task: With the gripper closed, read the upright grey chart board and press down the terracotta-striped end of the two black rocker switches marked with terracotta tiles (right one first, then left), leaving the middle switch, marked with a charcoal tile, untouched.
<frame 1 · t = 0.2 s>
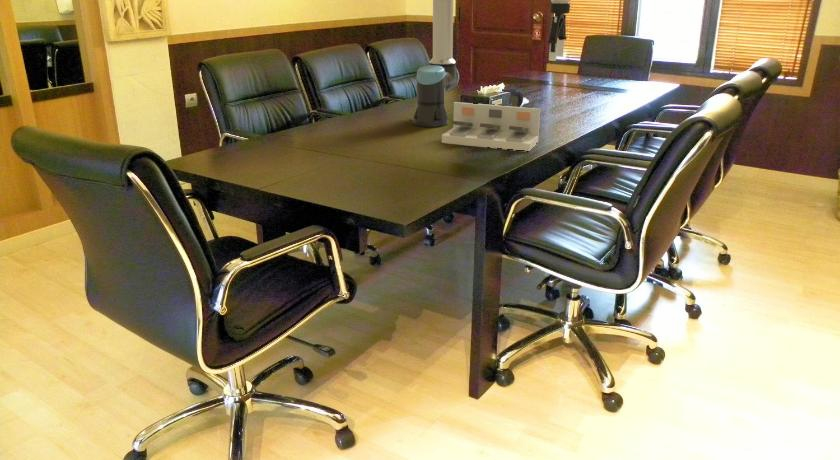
hand: (556, 58, 258), 28 cm above the table, fingers open, 13 cm apart
switch 2: (490, 125, 242), point 7 cm above the table, hinge at -15.0°
small box: (486, 130, 263), on the table
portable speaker: (498, 111, 298), on the table
switch unit: (489, 142, 245), on the table
switch 3: (518, 128, 238), point 7 cm above the table, hinge at -15.0°
switch 1: (462, 123, 246), point 7 cm above the table, hinge at -15.0°
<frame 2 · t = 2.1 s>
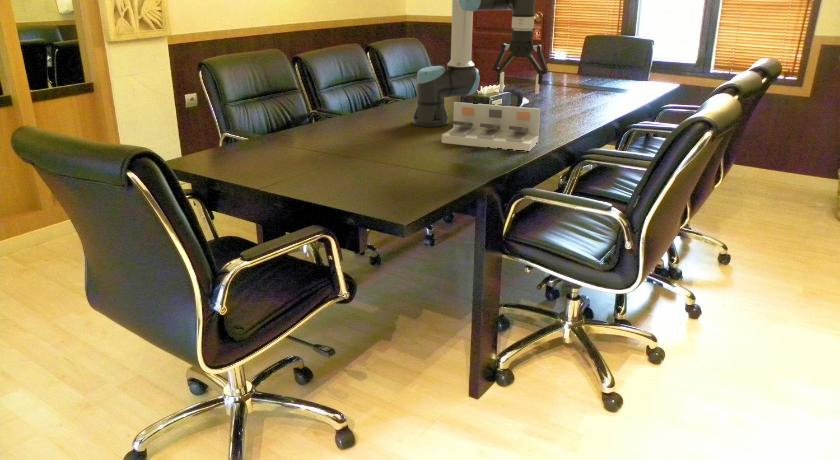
hand: (518, 92, 230), 21 cm above the table, fingers open, 12 cm apart
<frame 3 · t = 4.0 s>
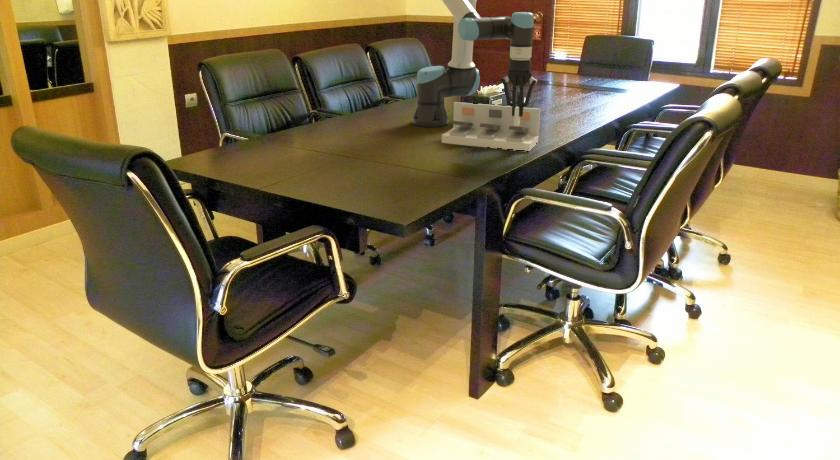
hand: (516, 125, 234), 9 cm above the table, fingers closed
switch 3: (518, 128, 238), point 7 cm above the table, hinge at -15.0°, touching gripper
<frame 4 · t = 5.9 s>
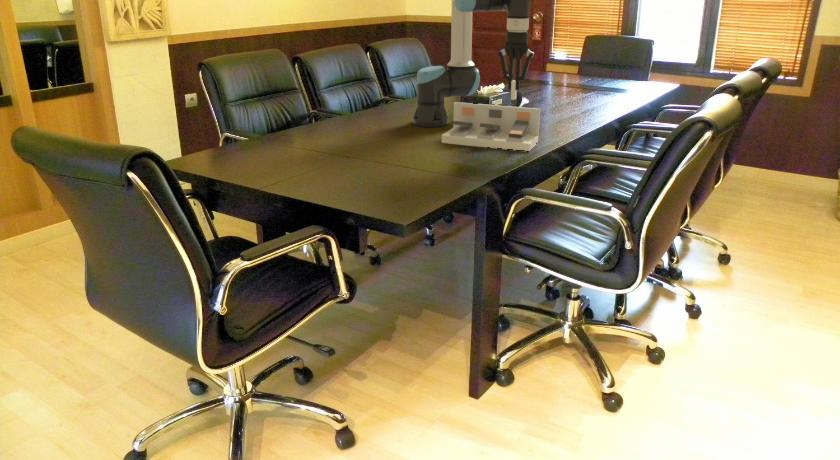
hand: (513, 98, 231), 18 cm above the table, fingers closed
switch 3: (518, 128, 238), point 7 cm above the table, hinge at 17.4°
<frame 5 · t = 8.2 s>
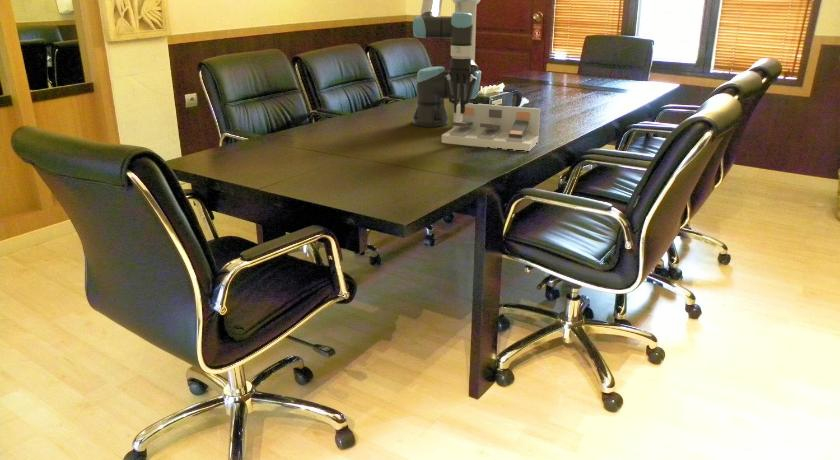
hand: (459, 121, 241), 8 cm above the table, fingers closed
switch 3: (518, 128, 238), point 7 cm above the table, hinge at 18.0°
switch 1: (462, 123, 246), point 7 cm above the table, hinge at -9.4°, touching gripper
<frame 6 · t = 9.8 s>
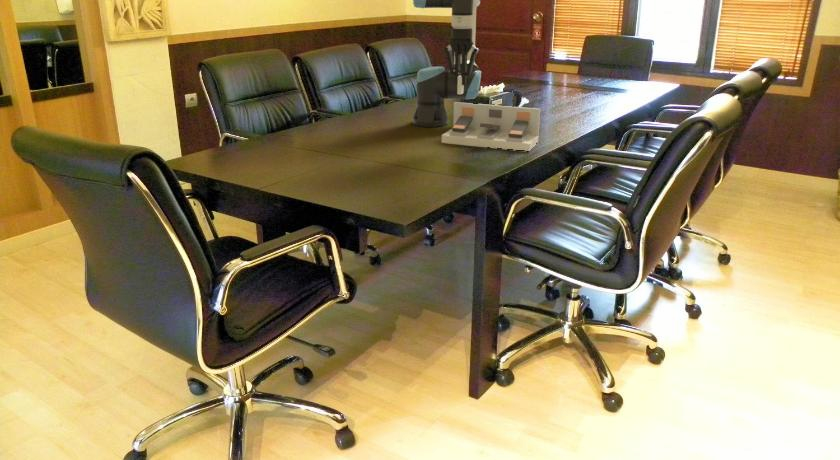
hand: (460, 93, 238), 18 cm above the table, fingers closed
switch 1: (462, 123, 246), point 7 cm above the table, hinge at 16.2°
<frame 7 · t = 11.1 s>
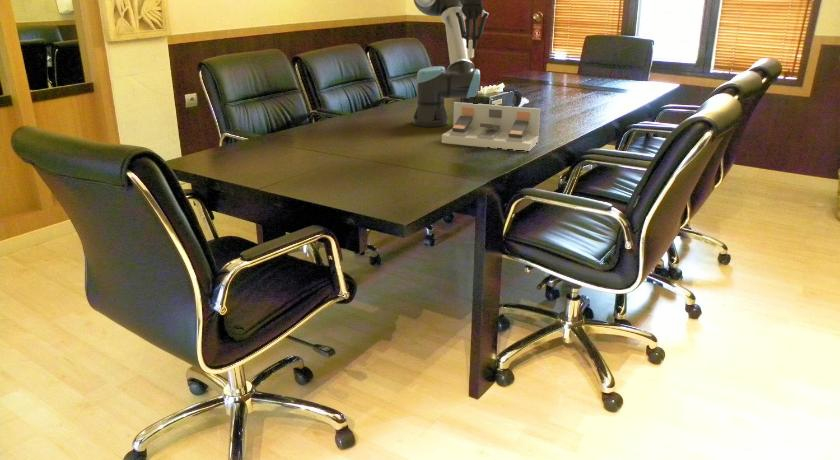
hand: (471, 57, 250), 29 cm above the table, fingers closed
switch 1: (462, 123, 246), point 7 cm above the table, hinge at 16.8°
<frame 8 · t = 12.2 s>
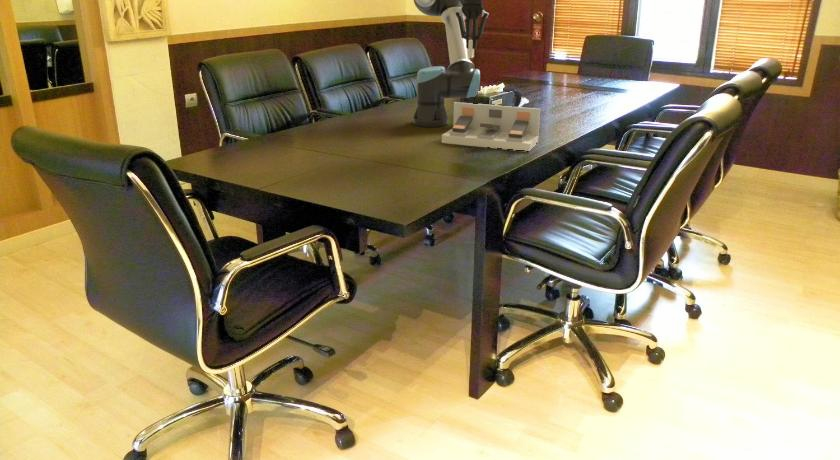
hand: (471, 57, 250), 29 cm above the table, fingers closed
at the end: switch 1 at +17° (first picture: -15°); switch 3 at +18° (first picture: -15°); switch 2 at -15° (first picture: -15°) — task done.
